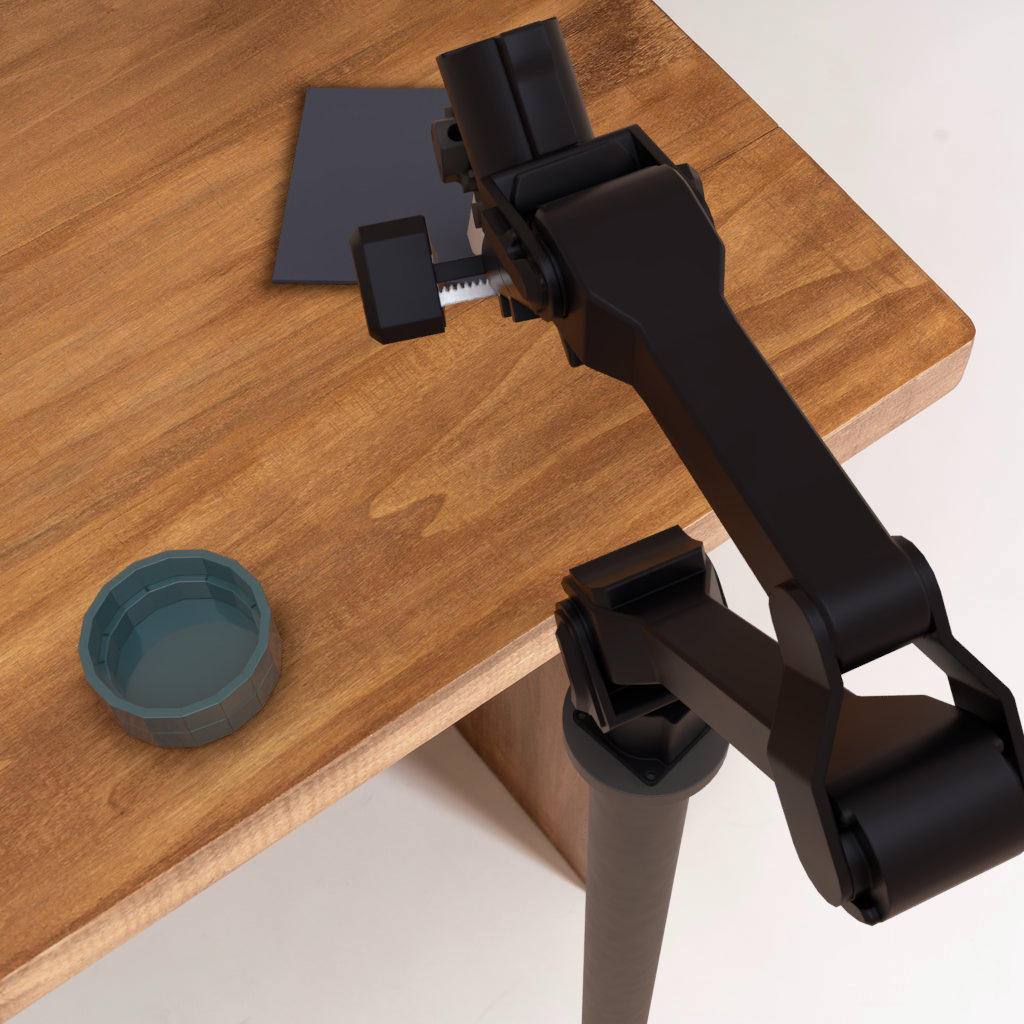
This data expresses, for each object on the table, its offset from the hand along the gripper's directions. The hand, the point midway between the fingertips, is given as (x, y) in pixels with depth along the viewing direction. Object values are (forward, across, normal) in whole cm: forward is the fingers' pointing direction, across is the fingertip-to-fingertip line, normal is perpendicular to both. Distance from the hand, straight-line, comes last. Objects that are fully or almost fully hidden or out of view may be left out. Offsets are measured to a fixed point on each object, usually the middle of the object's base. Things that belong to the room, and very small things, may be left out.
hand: (510, 251), depth 84 cm
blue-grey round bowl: (-1, +23, +20) cm, 31 cm away
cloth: (+24, +2, -5) cm, 25 cm away
